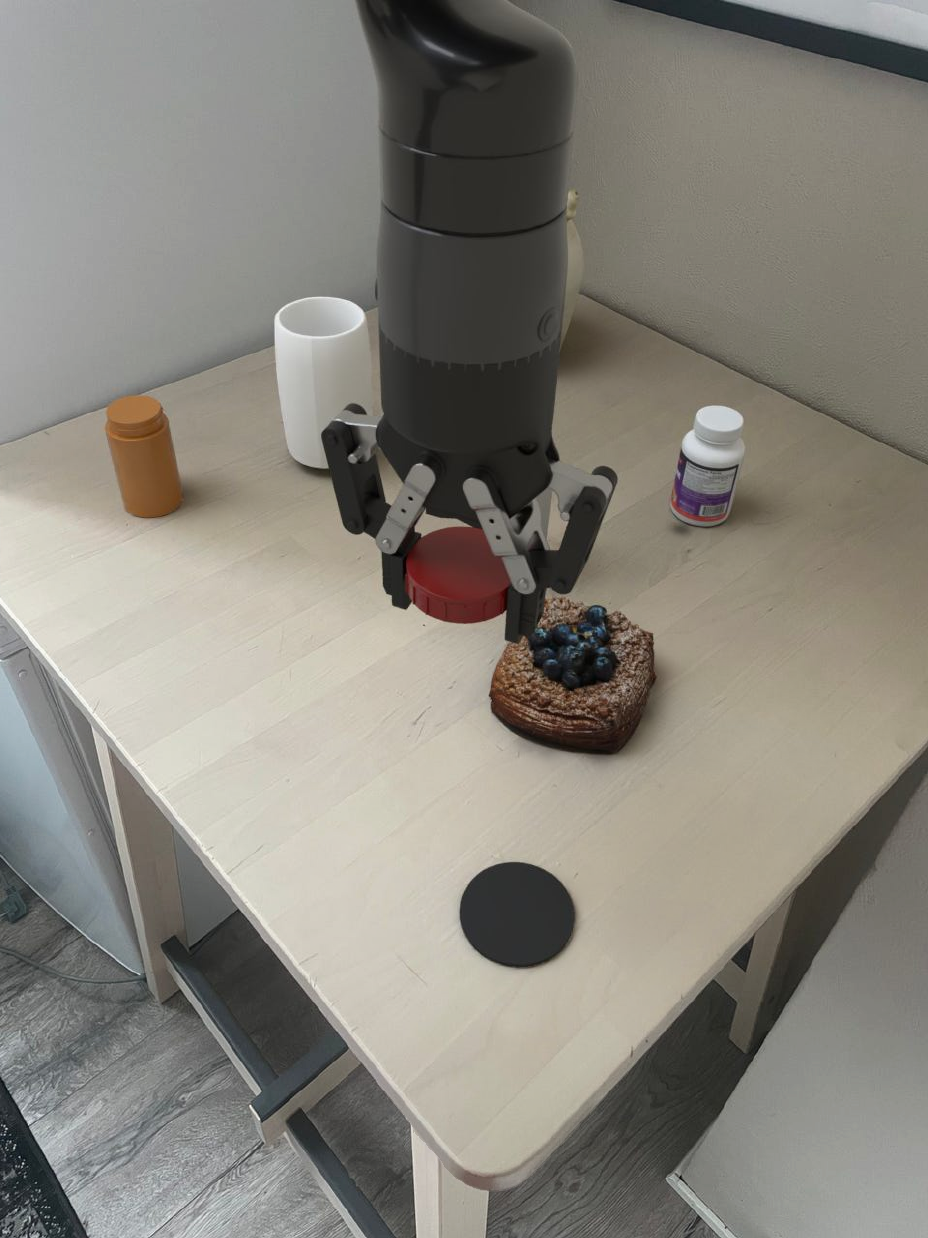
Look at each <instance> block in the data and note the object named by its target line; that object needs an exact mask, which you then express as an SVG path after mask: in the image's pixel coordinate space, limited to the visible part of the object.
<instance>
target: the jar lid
mask: <svg viewBox="0 0 928 1238" xmlns="http://www.w3.org/2000/svg"><path fill="white" fill-rule="evenodd" d="M405 582H406V592H408V595H409V597H410V599H411V601H412V603H411V604H412V605H413V606H415V607H416V608H417V609H418V610H420V611H421V612H422V613H424V614H425V615H426V616H429V617H430V618H433V619H435V620H439V621H442V622H444V623H450V624H457V625H458V624H459V625H460V624H461V625H468V624H479V623H482V622H483V623H484V622H487V621H489V620H492V619H493V620H494V619H495V618H497V617H499V616H500V615H503V614H504V613H506V610H507V596H508V588H509V587H510V585H511V581H510V578H509V576H508V573H507V571H506V568H505V566H504V563H503V561H502V559H501V557H495V556H494V554H493V553H492V550H491V548H490V545H489V543H488V540H487V538H486V536H485V533H484V531H483V530H482V529H478V528H475V527H471V526H449V527H444V528H439V529H437V530H433V531H431V532H428V533H426V534H425V535H423V536H421V538H420V539H419V540H418V541H417V542H416V543H415V545H414V546H413V547H412V549H411V550H410V551H409V553H408V555H407V559H406V574H405Z"/></svg>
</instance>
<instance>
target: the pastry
mask: <svg viewBox="0 0 928 1238" xmlns="http://www.w3.org/2000/svg"><path fill="white" fill-rule="evenodd" d="M654 646H655V640H654V633H653V632H652V631H648V630H644V629H642V628H641V627H640V626H639V625H638V624H637V623H635V624H632V622H631V621H630V620H628V617H626V615H625V614H624V613H622V611H620V610H618V609H616V610H614V612H611V613H609V614H608V610H607V608H606V607H605V606H603V605H600V604H594V605H593V604H592V605H591V606H586V605H585V604H584V602H583V601H576V603H575V602H574V601H570V599H569V598H566V596H561V597H557V596H553V597H552V598H545V605H544V614H543V616H542V618H541V620H540V621H539V623H538V625H537V627H536V629H535V631H534V632H533V634H532V635H531V636H530V638H529V637H526V636H523V638H522V640H521V641H520V643H519V644H515V643H512V642H509V641H508V644H507V645H506V646H505V648H504V650H503V652H502V654H501V656H500V658H499V660H498V662H497V663H496V665H495V668H494V671H493V674H492V677H491V682H490V689H489V693H488V697H489V698H490V699H489V700H490V701H491V702H490V712H491V713H492V714H493V715H494V716H495V717H496V719H498V721H499V722H500V723H501V724H502V725H503V726H504V727H506V728H507V729H508V730H509V731H511V732H512V733H514V734H516V735H517V736H519V737H521V738H523V739H525V740H527V741H529V742H533V743H534V744H537V745H540V746H544V747H546V748H550V749H555V750H559V751H564V752H568V753H569V752H570V753H575V754H577V753H578V754H589V755H591V754H592V755H614V754H617V753H618V752H620V751H621V750H622V749H623V748H624V747H625V746H626V745H627V744H628V743H629V742H630V740H631V739H632V737H633V735H634V734H635V733H636V731H637V729H638V727H639V724H640V722H641V721H642V718H643V716H644V712H645V709H646V707H647V704H648V701H649V696H650V693H651V690H652V688H653V686H654V684H655V682H656V680H657V679H658V675H657V674H656V671H655V649H654Z"/></svg>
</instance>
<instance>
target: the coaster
mask: <svg viewBox="0 0 928 1238" xmlns="http://www.w3.org/2000/svg"><path fill="white" fill-rule="evenodd" d="M459 921H460V927H461V929H462V932H463V934H464V936H465V938H466V940H467V942H468V943H469V944H470V945H471V946H472V947H473V949H474V950H475V951H476V952H478V954H480V955H481V956H482V957H484V958H485V959H487V960H489V961H491V962H492V963H495V964H498V965H499V966H500V965H501V966H504V967H509V968H518V969H520V968H521V969H522V968H523V969H524V968H530V967H531V968H532V967H536V966H539V965H542V964H545V963H547V962H549V961H550V960H552V959H554V958H555V957H556V956H557V955H559V954H560V953H561V952H562V951H563V950H564V949H565V947H566V946H567V945H568V944H569V941H570V939H571V937H572V936H573V931H574V927H575V921H576V913H575V906H574V901H573V899H572V896H571V895H570V893H569V891H568V890H567V888H566V887H565V885H564V884H563V883H562V881H560V880H559V878H558V877H557V876H555V875H554V874H553V873H551V872H550V871H548V870H546V869H545V868H542V867H541V866H538V865H536V864H532V863H527V862H522V861H521V862H520V861H506V862H499V863H496V864H494V865H491V866H489V867H487V868H485V869H483V870H482V871H480V872H479V873H477V874H476V875H475V876H474V877H473V878H472V879H471V880H470V881H469V882H468V883H467V885H466V887H465V889H464V891H463V893H462V895H461V898H460V903H459Z"/></svg>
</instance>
